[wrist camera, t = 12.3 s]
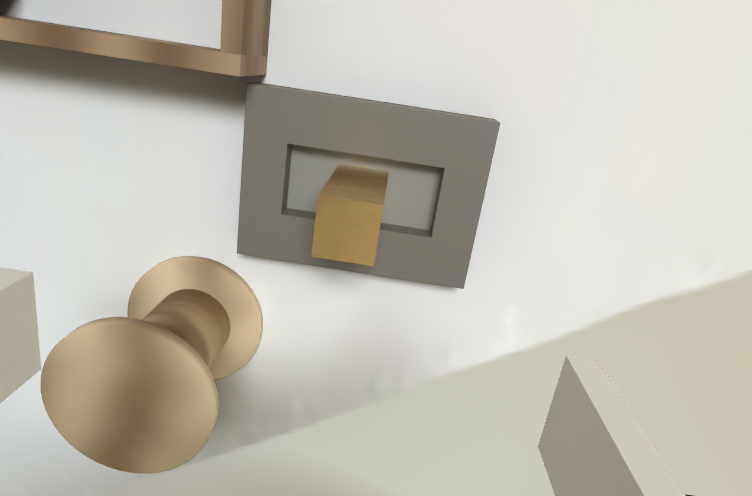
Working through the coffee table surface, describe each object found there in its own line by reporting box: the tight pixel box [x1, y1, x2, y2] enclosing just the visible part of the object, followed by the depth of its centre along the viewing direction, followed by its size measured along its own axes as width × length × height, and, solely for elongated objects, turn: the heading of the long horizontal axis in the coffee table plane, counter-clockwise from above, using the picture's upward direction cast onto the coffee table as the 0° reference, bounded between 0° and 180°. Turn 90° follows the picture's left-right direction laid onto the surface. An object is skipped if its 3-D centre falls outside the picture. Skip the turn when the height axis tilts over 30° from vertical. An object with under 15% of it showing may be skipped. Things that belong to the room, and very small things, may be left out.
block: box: [311, 164, 389, 266], centre depth 28 cm, size 3×3×8 cm
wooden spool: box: [41, 256, 263, 473], centre depth 31 cm, size 9×9×10 cm
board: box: [237, 82, 500, 289], centre depth 31 cm, size 14×10×2 cm
